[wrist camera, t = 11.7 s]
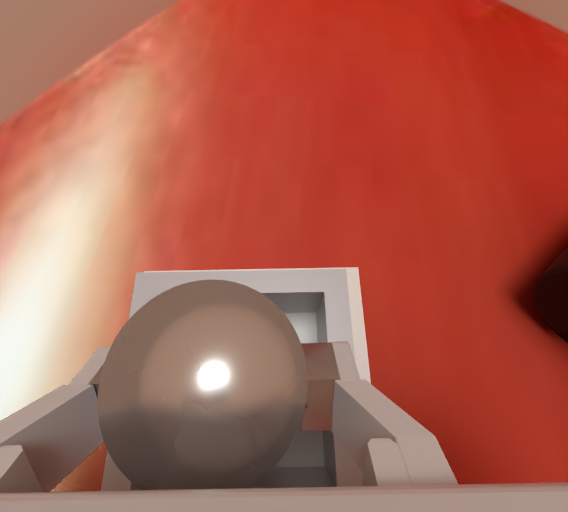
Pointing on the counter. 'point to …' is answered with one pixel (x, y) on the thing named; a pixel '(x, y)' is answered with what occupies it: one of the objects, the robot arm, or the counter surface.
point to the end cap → (554, 295)
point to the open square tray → (310, 329)
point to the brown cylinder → (202, 389)
